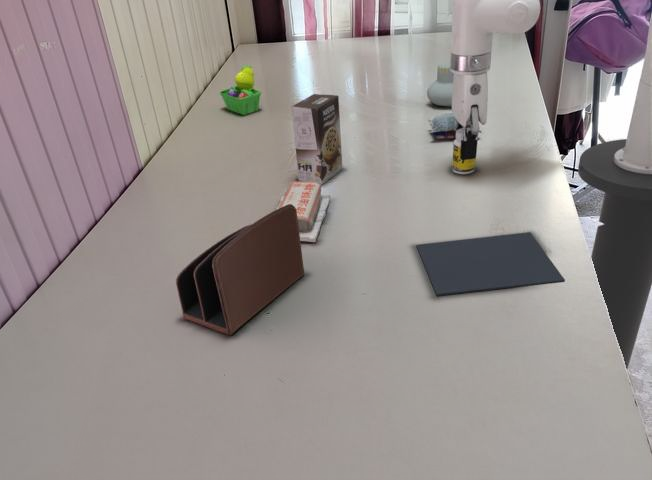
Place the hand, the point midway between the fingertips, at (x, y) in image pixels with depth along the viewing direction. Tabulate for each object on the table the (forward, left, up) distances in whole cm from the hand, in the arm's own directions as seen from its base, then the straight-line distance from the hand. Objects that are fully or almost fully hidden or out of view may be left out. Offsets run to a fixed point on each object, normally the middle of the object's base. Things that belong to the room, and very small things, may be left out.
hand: (464, 152), depth 133 cm
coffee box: (+30, -6, -4) cm, 31 cm away
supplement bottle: (0, 0, -4) cm, 4 cm away
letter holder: (+46, +40, -4) cm, 61 cm away
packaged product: (+36, +15, -4) cm, 39 cm away
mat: (+6, +38, -4) cm, 39 cm away
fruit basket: (+48, -59, -4) cm, 76 cm away
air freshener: (-7, -44, -4) cm, 45 cm away
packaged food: (-3, -21, -4) cm, 22 cm away
